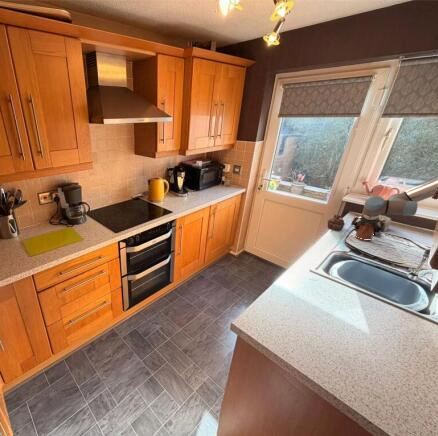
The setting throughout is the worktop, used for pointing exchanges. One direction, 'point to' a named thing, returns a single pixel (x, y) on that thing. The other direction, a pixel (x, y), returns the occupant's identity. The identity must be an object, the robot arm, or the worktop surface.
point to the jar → (365, 232)
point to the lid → (377, 234)
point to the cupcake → (336, 223)
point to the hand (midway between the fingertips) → (365, 231)
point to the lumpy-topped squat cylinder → (387, 221)
